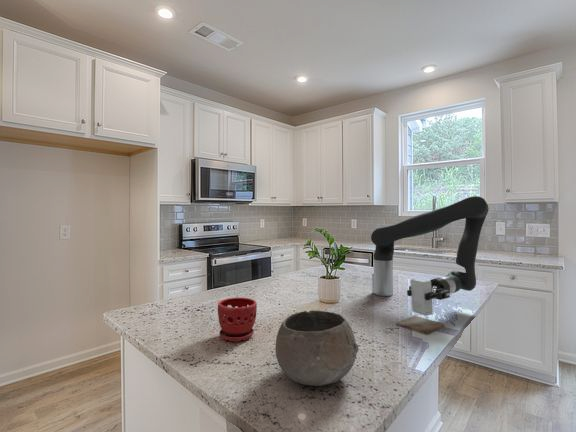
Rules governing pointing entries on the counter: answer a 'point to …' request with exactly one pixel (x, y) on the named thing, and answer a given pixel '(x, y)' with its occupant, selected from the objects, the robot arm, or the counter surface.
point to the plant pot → (237, 318)
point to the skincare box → (421, 296)
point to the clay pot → (315, 347)
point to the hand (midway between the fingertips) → (417, 295)
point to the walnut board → (420, 324)
